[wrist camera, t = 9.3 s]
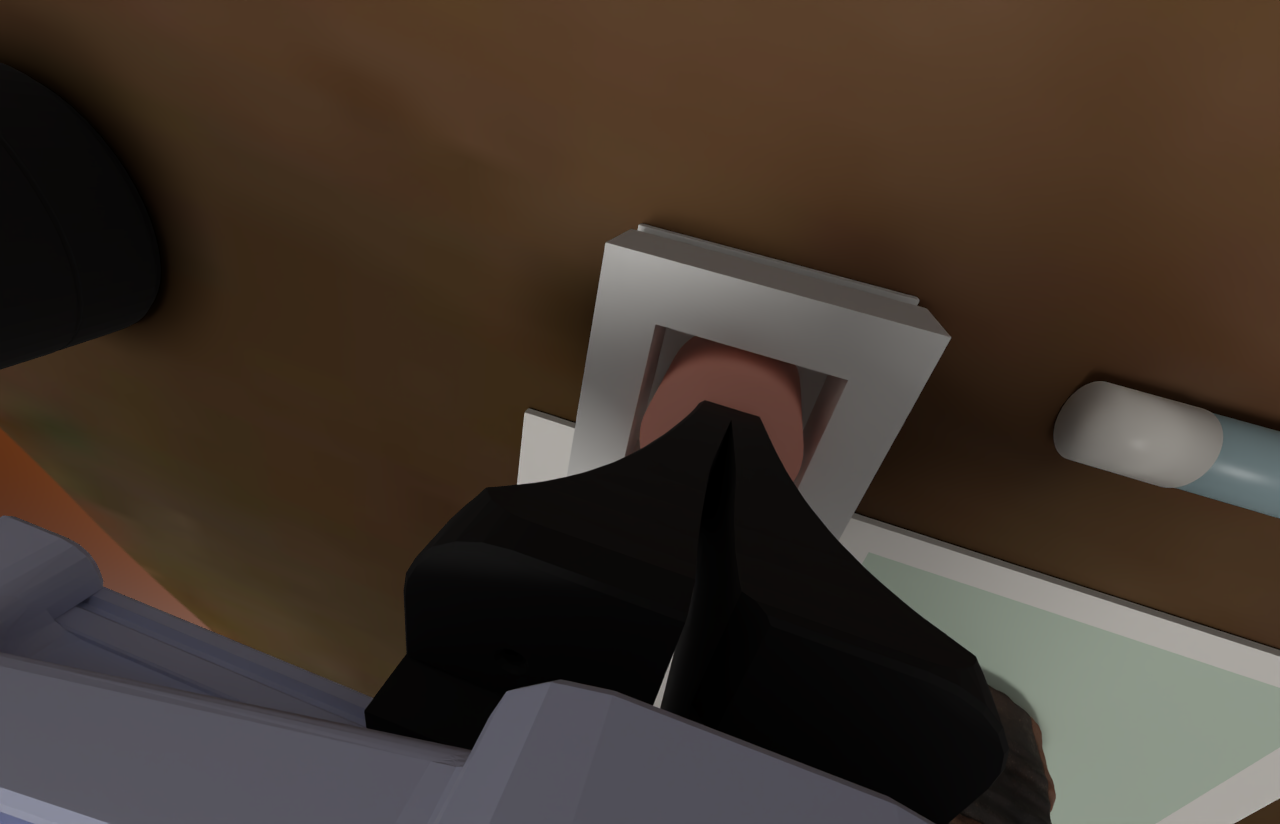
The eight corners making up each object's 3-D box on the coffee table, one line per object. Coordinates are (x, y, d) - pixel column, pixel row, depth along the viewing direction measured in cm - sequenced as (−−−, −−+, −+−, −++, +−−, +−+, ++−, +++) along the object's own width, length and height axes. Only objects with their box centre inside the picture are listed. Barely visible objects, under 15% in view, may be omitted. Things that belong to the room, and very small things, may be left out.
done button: (774, 460, 15) (770, 533, 12) (655, 423, 15) (626, 484, 12) (821, 347, 13) (830, 402, 10) (685, 308, 13) (658, 351, 11)
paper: (1059, 909, 22) (1062, 918, 21) (498, 687, 25) (495, 692, 24) (1428, 697, 14) (1440, 708, 13) (528, 408, 17) (524, 412, 16)
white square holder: (809, 512, 16) (813, 584, 13) (597, 443, 17) (563, 498, 14) (917, 296, 12) (951, 337, 10) (641, 223, 13) (605, 242, 10)
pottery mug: (1094, 773, 18) (1087, 1102, 14) (838, 685, 25) (784, 887, 21) (1002, 613, 12) (946, 1089, 8) (705, 558, 19) (598, 802, 15)
